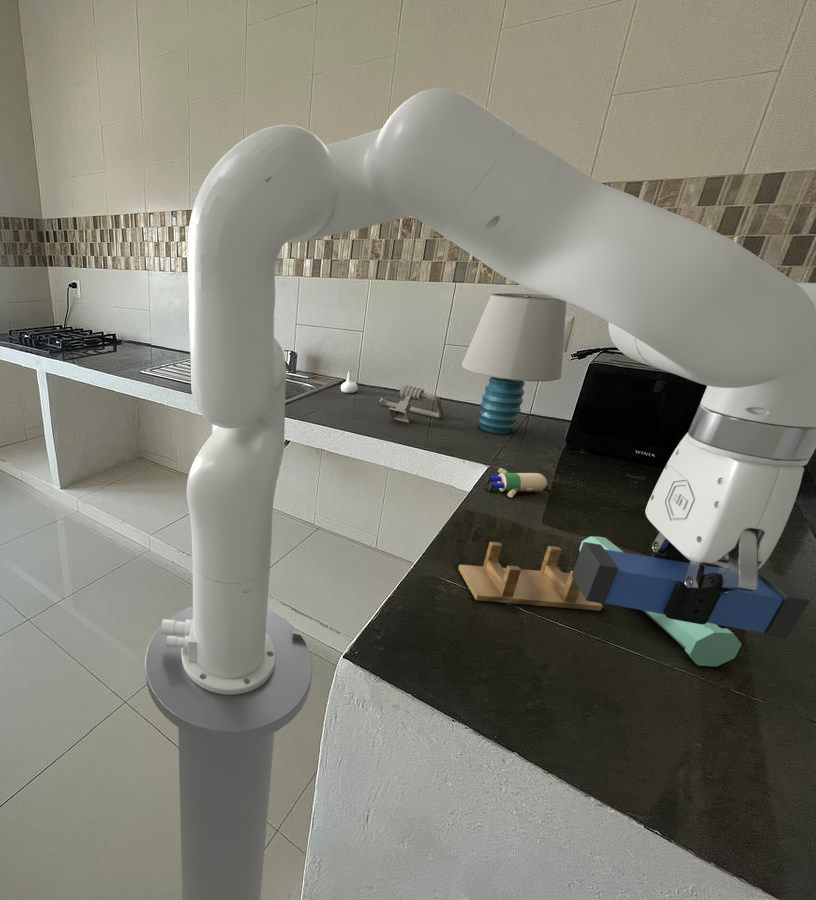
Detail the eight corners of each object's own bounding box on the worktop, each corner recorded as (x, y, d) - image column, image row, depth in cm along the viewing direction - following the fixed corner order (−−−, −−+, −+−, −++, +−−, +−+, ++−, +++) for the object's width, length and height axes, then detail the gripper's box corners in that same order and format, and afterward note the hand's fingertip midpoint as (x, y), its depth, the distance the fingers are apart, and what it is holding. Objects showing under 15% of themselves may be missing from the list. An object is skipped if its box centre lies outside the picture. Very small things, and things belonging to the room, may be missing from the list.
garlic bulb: (358, 394, 182) (360, 373, 179) (341, 393, 183) (343, 373, 180) (355, 390, 188) (358, 369, 185) (339, 389, 189) (341, 369, 186)
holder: (475, 600, 74) (484, 568, 72) (457, 569, 82) (465, 539, 79) (601, 611, 72) (614, 578, 70) (571, 578, 80) (582, 547, 77)
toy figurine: (491, 503, 108) (548, 503, 106) (498, 491, 104) (557, 491, 103) (480, 475, 113) (534, 474, 112) (486, 462, 110) (542, 462, 108)
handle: (585, 600, 49) (599, 564, 47) (571, 575, 53) (583, 541, 51) (787, 639, 44) (810, 600, 43) (755, 608, 48) (775, 572, 47)
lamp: (435, 427, 148) (462, 294, 133) (468, 411, 164) (495, 291, 149) (527, 451, 131) (569, 302, 116) (554, 430, 147) (594, 297, 132)
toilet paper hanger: (447, 413, 157) (441, 388, 147) (432, 441, 154) (425, 417, 144) (383, 398, 171) (374, 375, 162) (368, 424, 169) (358, 401, 159)
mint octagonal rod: (586, 524, 84) (714, 624, 61) (615, 537, 84) (752, 641, 61) (564, 550, 86) (679, 657, 63) (592, 563, 86) (716, 673, 63)
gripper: (650, 403, 50) (594, 551, 57) (762, 465, 35) (668, 655, 42) (740, 411, 48) (671, 564, 55) (900, 480, 33) (777, 677, 40)
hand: (671, 602), depth 48 cm, fingers closed on handle, 4 cm apart
